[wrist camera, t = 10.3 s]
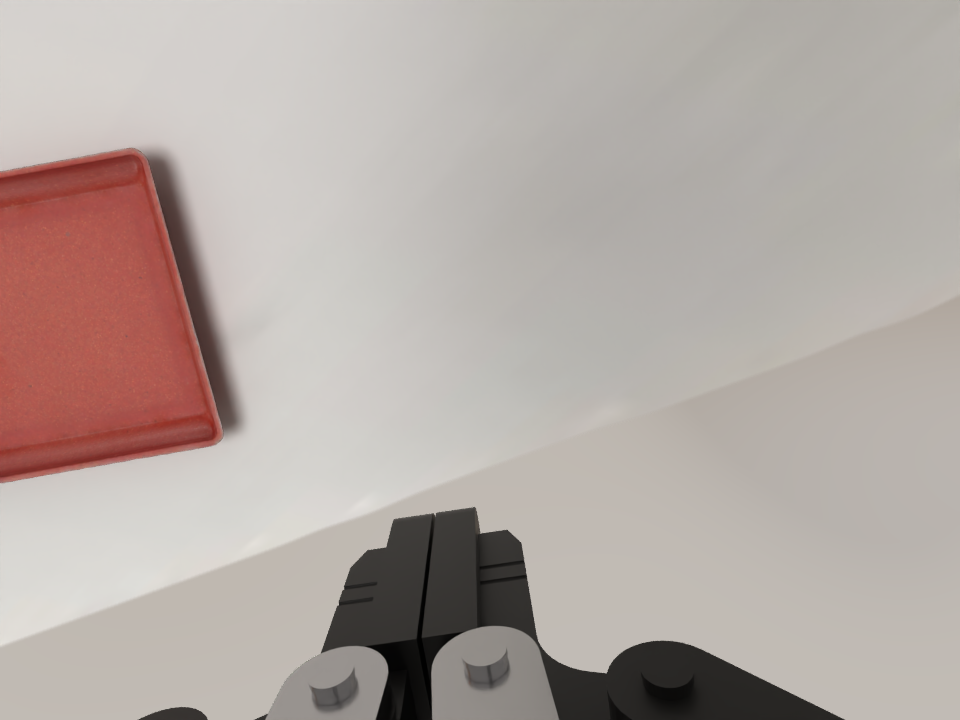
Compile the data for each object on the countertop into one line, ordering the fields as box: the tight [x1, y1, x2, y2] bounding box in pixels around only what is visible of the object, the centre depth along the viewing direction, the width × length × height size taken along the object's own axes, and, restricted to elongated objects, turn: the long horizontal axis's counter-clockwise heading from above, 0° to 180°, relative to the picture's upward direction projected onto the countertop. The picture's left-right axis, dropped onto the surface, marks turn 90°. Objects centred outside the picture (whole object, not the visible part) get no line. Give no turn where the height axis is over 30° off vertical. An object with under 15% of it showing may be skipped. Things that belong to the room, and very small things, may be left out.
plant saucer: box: [0, 148, 223, 483], centre depth 38 cm, size 18×18×3 cm
